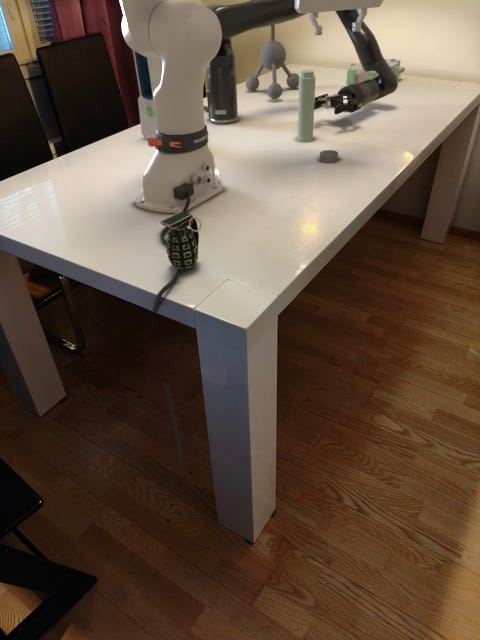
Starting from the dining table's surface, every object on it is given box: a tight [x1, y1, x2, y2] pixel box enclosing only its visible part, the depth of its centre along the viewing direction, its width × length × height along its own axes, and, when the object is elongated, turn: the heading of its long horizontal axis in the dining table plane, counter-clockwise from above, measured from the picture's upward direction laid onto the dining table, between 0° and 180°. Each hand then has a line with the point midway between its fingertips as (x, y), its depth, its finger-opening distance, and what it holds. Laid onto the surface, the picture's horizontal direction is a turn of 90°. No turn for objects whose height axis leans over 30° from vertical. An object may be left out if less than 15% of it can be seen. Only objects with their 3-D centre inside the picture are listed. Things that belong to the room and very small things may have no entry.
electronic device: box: [132, 50, 162, 140], centre depth 143 cm, size 12×8×30 cm, turn 47°
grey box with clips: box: [346, 58, 406, 85], centre depth 197 cm, size 26×6×20 cm
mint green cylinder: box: [297, 69, 316, 143], centre depth 140 cm, size 4×4×18 cm
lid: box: [319, 149, 339, 163], centre depth 131 cm, size 5×5×2 cm
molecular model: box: [245, 24, 300, 100], centre depth 182 cm, size 24×22×30 cm
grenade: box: [159, 211, 202, 271], centre depth 88 cm, size 7×6×10 cm
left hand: (337, 33), depth 113 cm, fingers open, 8 cm apart
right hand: (323, 108), depth 146 cm, fingers open, 8 cm apart
